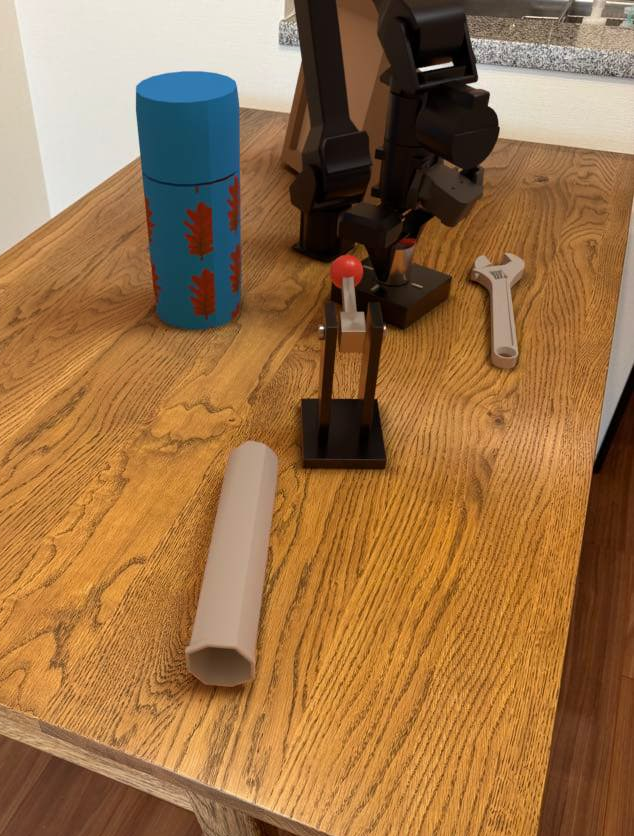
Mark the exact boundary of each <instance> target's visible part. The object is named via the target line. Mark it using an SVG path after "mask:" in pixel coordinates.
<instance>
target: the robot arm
mask: <svg viewBox="0 0 634 836" xmlns="http://www.w3.org/2000/svg"><path fill="white" fill-rule="evenodd" d="M372 1H373V3H374V5H375V7H376V9H377V12H378V14H379V17H378V25H377V36H378V38H379V41H380V43H381V45H382V48H383V50H384V53H385V55H386V57H387V60H388V62H389V63H390V65H391V66H390V67H389V68H388V69H387V70H385V71H384V72H383V73H382V74H381V75H380V77H379V80H380V82H382V83H384V84H386V85H388V86H390V91H389V99H388V108H387V117H386V126H385V135H384V144H383V145H381V146H380V147H378V148H376V149H375V158H374V159H378V160H382V161H381V170H380V179H379V183H377V184H376V185H374V186H373V187H371V196H372V197H375V198H376V199H379V200H380V202H379V204H377V205H376V204H374V205H373V204H369V203H365V202H363V199H364V196H365V193H366V190H367V187H368V184H369V182H370V180H371V174H372V167H371V166H372V165H373V163H372V160H371V156H370V149H369V136H368V134H367V132H366V131H365V130H363V131H359V130H358V129H357V127H356V126H355V124H354V123H353V122H352V120H351V119H350V114H349V105H348V97H347V88H346V79H345V71H344V62H343V53H342V44H341V36H340V27H339V18H338V10H337V1H336V0H293V5H294V6H293V7H294V12H295V13H294V14H295V20H296V21H295V22H296V26H297V27H296V29H297V35H298V43H299V51H300V59H301V61H302V66H303V73H304V81H305V88H306V96H307V103H308V111H309V118H310V131H309V134H308V136H307V139H306V142H305V145H304V148H303V151H302V169H303V170H302V171H301V172H300V173H298V174H297V176H296V177H295V179H294V180H293V181H292V182H291V184H290V185H289V187H288V191H289V199H290V204H291V205H292V206H293V207H295V208H296V209H298V210H299V211H300V213H299V214H300V217H299V218H300V219H299V238H298V239H299V240H298V241H297V242H294V243H293V244H292V245H291V249H292V250H294V251H296V252H299V253H302V254H303V255H307V256H309V257H312V258H315V259H318V260H320V261H323V262H326V263H329V262H331V261H333V260H334V259H335V260H336V259H337V258H338V257H340V256H342V255H344V253H346V252H348V251H350V250H352V249H354V248H355V247H356V244H358V245H362V246H364V249H365V250H366V252H367V255H368V256H369V258H370V260H371V263H372V266H373V268H374V271H375V273H376V276H377V279H378V280H379V281H382V282H386V281H387V280H388V277H389V274H390V271H391V267H392V263H393V259H394V255H395V251H396V248H397V244H398V243H399V242H400V241H402V240H403V239H404V238H406V237H407V236H410V237H412V238H413V239H416V245H415V248H416V246H417V244H418V243H419V240H420V238H421V236H422V233H423V231H424V229H425V228H426V225H427V223H428V222H429V221H431V220H432V219H433V218H437V219H438V220H440V223H441V224H442V225H444V226H445V227H448V228H455V227H456V226H458V224H459V223H461V222H462V221H463V220H465V219H467V218H468V217H469V215H470V213H472V210H473V209H474V207H475V206H476V203H477V202H478V201H479V200H481V199H482V198H483V196H484V191H483V190H484V189H485V186H484V176H485V168H484V167H483V166H481V164H482V163H483V162H484V161H485V160H486V159H487V158H488V157H489V156H490V154H491V153H492V152H493V150H494V148H495V146H496V145H497V142H498V138H499V136H500V131H501V127H500V123H499V117H498V114H497V113H496V111H495V109H494V108H492V107H491V106H489V104H490V99H491V92H490V91H489V90H486V89H483V88H475V87H473V86H471V84H475V83H477V82H478V81H479V73H478V68H477V63H478V60H477V57H476V54H475V51H474V49H473V44H472V39H471V35H470V30H469V26H468V19H467V13H466V9H465V8H464V6H463V3H462V1H461V0H372ZM450 63H451V64H452V65H450V66H445V67H440V68H433V69H427V70H421V69H423V68H429V67H435V66H440V65H445V64H450ZM469 84H470V85H469ZM445 161H446V162H448V163H450V164H452V165H453V166H454V167H453V168H452V167H449V166H448V165H447V164H445ZM459 169H461V170H460V171H459ZM356 203H358V204H357V205H356V206H354V207H352V204H356Z"/></svg>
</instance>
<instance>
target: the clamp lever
mask: <svg viewBox="0 0 634 836" xmlns="http://www.w3.org/2000/svg"><path fill="white" fill-rule="evenodd" d="M360 261H361V260H360V259H359V258H358V257H356V256H354V255H352V254H342V255H340V256H338V257H336V258H335V260H334V261H333V262H332V264H331V266H330V269H329V277H330V280H331V283H332V282H333V283H334V285H335V286H337V287H338V288H340V289H342V302H343V305H342V311H339V317H338V324H337V325H338V330H337V342H338V352H339V353H340V354H341V353H344V354H347V353H351V354H355V353H359V354H361V353H362V354H363V351H364V344H365V337H366V315H365V314H364V312H357V309H356V299H355V288H354V287H355V286H357V285H358V284H359V282H360V281H361V279H362V276H363V266H362V264H361V262H360Z"/></svg>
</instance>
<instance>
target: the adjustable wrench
mask: <svg viewBox="0 0 634 836" xmlns="http://www.w3.org/2000/svg"><path fill="white" fill-rule="evenodd" d="M525 266H526V263H525V261H524V259H522V258H521V257H519V256H517V255H515V254H513V253H510V252H503V257H502V260H501V265H499V264H498V265H492V262H491V261H490V259H488V257H486V255H484V254H483V255H479V256H478V257H476V259H475V262H474V265H473V268H472V269H471V273H470V278H469V279H470V280H471V281H473V282H477V283H479V284H480V285H481V286H483V287H484V288H485V289H486V290H487V291H488V293H489V309H490V310H489V311H490V313H489V315H490V317H489V318H490V353H491V354H490V355H491V359H490V360H491V364H492V365H493V366H495V367H496V368H499V369H503V370H505V369H506V370H507V369H508V370H509V369H512V368H515V366H516V363H517V359H518V356H519V348H518V340H517V331H516V322H515V316H514V307H513V299H512V292H511V289H512V288H513V287H514V286H515V284H517V282H519V281H520V280H521V279H522V277H523V275H524V270H525Z"/></svg>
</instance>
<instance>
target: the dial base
mask: <svg viewBox="0 0 634 836" xmlns="http://www.w3.org/2000/svg"><path fill="white" fill-rule="evenodd" d="M359 261H360V262H361V264H362V266H363V276H362V279H361V281H360V282H359V284H358V285H357V286H355V287H354V288H355V299H356V309H357V312H364V315H365V316H367V310H368V302H379V303H380V308H381V314H382V319H383V323H384V324H387V325H390V326H392V327H394V328H397V329H399V330H403V331H405V330H406V329H408V328H409V327H411V326H412V325H413V324H415V323H416V322H417V321H419V320H420V319H422V318H423V317H424V316H426V315H427V314H428V313H430V312H431V311H433V310H434V309H436V308H437V307H438V306H439V305H441V304H442V303H444V302H445V301H448V300H449V296H450V291H451V286H452V281H453V276H452V275H449V274H447V273H444V272H441V271H439V270H436V269H433V268H430V267H428V266H424V265H421V264H419V263H416V262H413V264H412V271H411V277H410V280H409V281H408V282H407V283H405V284H402V285H396V286H392V285H385V284H382V283H380V282H378V281H377V280H376V279H375V277H374V273H375V271H374V268H373V266H372V263H371V260H370V258H369V255H368V256H367V257H365V258H364V259H362V260H359ZM330 286H331V287H330V298H329V299H330V301H329V302H335V304H337V305H340V306H343V302H342V289H340V288H338V287H337V286H335V285H334V283H333V282H332V281H331V285H330Z"/></svg>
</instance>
